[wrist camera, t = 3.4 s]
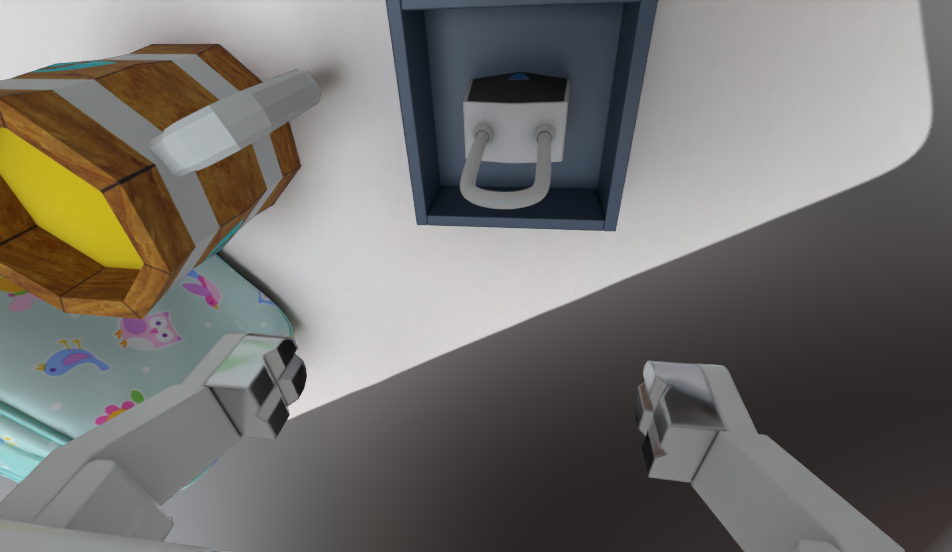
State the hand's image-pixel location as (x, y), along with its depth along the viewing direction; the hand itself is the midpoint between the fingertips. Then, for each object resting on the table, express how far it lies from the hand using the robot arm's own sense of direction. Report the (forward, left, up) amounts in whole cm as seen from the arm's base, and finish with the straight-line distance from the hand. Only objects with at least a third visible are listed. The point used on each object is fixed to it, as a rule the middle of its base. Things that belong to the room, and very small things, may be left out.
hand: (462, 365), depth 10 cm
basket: (0, 0, -24) cm, 24 cm away
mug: (+21, +1, -24) cm, 32 cm away
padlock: (0, 0, -24) cm, 24 cm away
